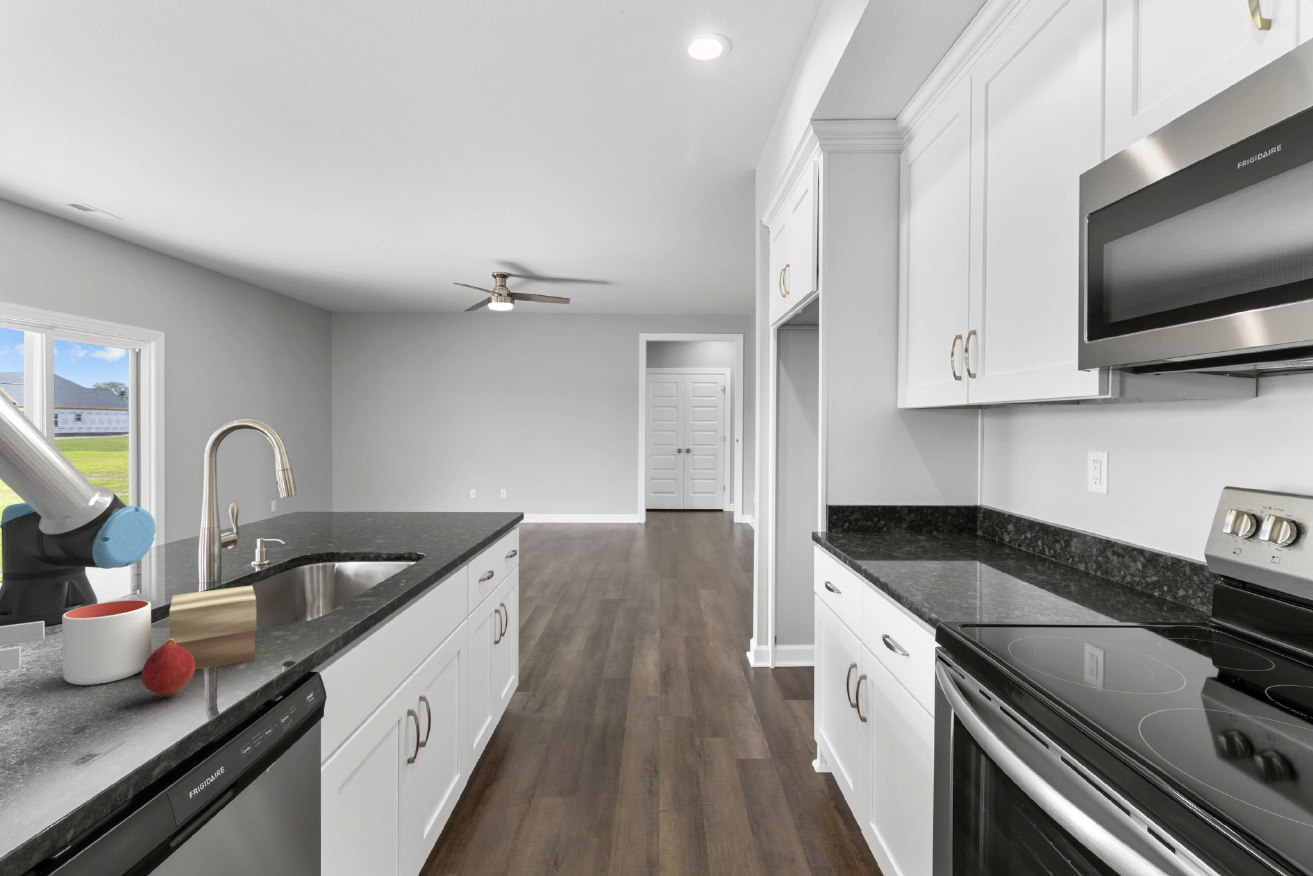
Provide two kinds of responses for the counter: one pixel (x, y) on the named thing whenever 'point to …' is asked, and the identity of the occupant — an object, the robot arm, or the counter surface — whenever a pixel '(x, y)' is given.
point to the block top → (212, 613)
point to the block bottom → (221, 649)
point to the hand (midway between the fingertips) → (33, 642)
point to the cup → (106, 641)
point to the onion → (168, 669)
